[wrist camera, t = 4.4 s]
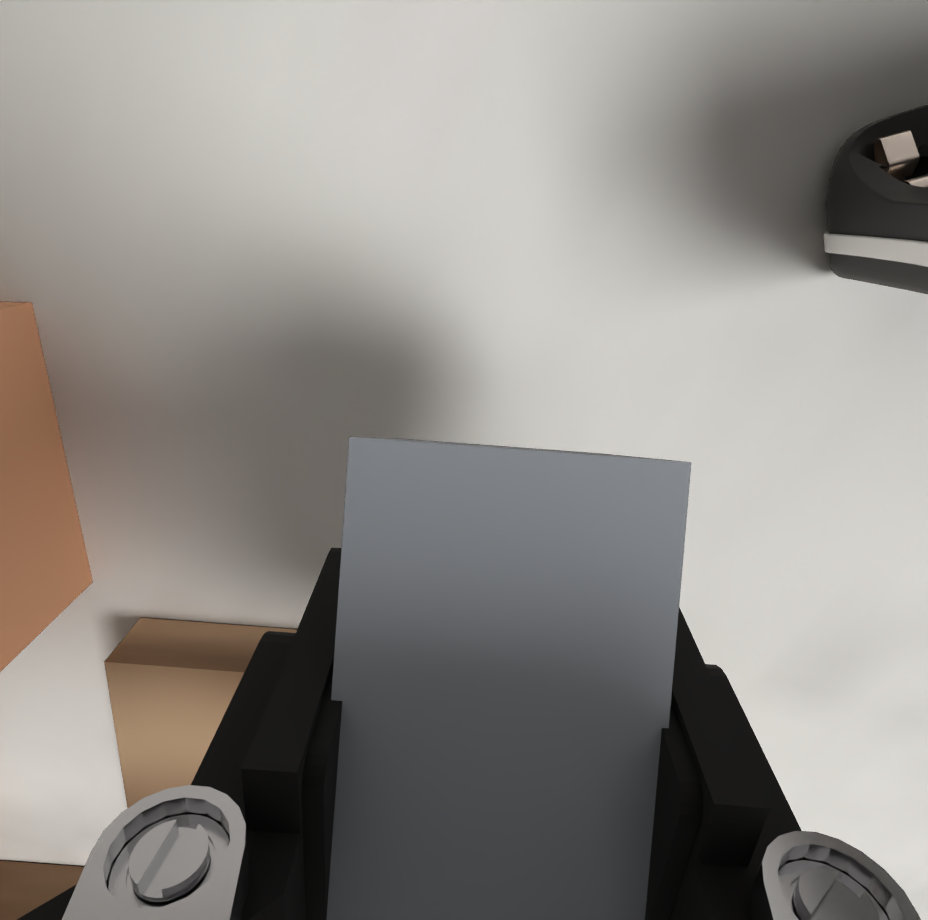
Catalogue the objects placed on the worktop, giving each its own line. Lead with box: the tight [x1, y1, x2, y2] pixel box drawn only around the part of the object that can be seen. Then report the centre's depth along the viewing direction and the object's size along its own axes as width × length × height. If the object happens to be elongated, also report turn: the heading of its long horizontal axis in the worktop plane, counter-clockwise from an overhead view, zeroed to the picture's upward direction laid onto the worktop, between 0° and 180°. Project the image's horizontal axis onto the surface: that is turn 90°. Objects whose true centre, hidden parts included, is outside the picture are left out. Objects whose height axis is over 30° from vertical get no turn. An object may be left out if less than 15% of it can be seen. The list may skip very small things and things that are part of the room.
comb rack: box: [0, 618, 297, 920], centre depth 21 cm, size 12×22×2 cm, turn 86°
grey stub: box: [326, 437, 691, 920], centre depth 9 cm, size 8×4×4 cm, turn 176°
